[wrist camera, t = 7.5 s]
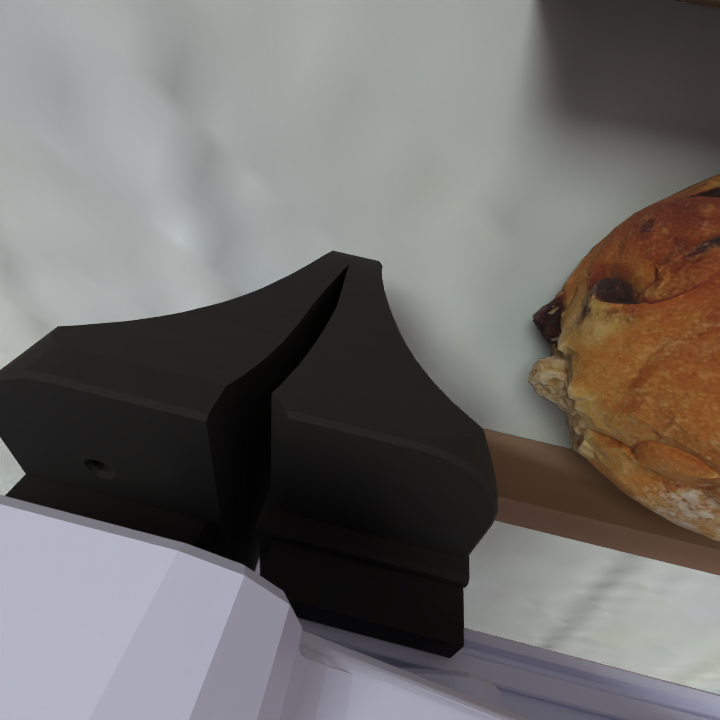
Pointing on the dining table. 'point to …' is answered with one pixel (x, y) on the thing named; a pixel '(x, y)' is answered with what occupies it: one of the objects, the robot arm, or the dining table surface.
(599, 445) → the bread roll
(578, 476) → the roll holder
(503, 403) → the dining table surface
